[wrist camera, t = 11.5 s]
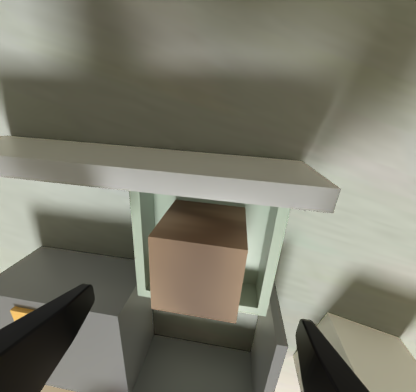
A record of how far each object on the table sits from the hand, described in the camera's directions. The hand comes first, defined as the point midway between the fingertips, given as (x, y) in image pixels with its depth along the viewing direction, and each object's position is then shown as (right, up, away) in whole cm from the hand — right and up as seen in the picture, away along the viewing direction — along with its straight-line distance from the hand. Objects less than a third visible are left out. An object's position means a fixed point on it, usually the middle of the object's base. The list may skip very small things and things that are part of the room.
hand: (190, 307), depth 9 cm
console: (-4, -5, +10) cm, 12 cm away
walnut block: (+1, +2, +5) cm, 6 cm away
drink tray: (-4, +3, +6) cm, 8 cm away
